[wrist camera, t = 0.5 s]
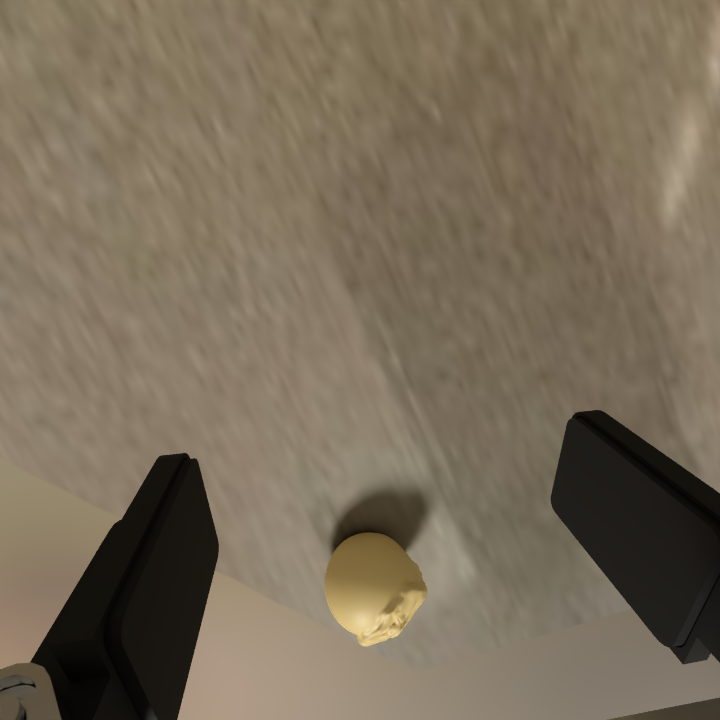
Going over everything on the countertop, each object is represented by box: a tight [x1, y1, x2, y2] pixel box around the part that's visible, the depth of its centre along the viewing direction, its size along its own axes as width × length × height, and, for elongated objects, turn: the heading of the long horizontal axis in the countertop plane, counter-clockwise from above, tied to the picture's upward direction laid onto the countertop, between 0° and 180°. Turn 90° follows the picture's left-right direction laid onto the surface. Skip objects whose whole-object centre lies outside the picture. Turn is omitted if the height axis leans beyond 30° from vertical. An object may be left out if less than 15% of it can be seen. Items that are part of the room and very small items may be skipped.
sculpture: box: [325, 533, 427, 646], centre depth 48 cm, size 11×12×11 cm
